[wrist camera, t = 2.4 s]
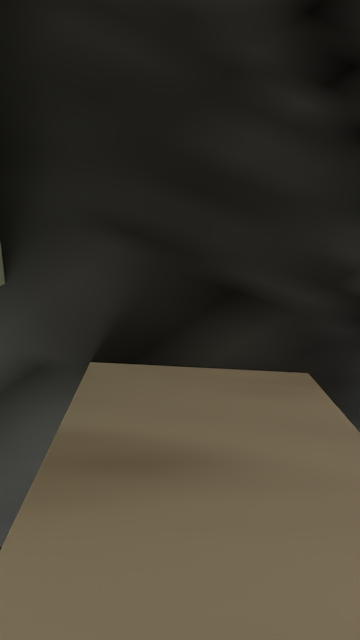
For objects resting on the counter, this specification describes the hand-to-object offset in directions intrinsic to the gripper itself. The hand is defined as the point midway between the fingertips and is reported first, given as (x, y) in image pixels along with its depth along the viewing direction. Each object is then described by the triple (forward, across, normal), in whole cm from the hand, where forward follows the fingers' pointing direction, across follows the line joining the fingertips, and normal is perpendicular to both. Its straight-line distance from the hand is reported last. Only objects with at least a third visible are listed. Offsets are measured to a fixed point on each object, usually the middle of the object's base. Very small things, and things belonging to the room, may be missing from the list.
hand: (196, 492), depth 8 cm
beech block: (+1, 0, 0) cm, 1 cm away
